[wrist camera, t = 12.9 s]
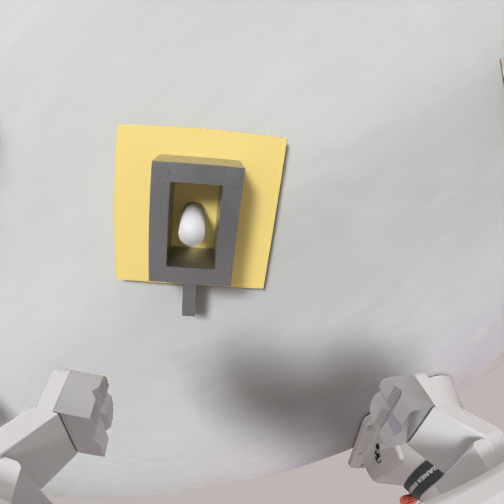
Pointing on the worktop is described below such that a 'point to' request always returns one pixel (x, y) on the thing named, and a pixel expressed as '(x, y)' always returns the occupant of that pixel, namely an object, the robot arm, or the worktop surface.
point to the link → (228, 209)
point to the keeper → (196, 197)
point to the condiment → (503, 63)
